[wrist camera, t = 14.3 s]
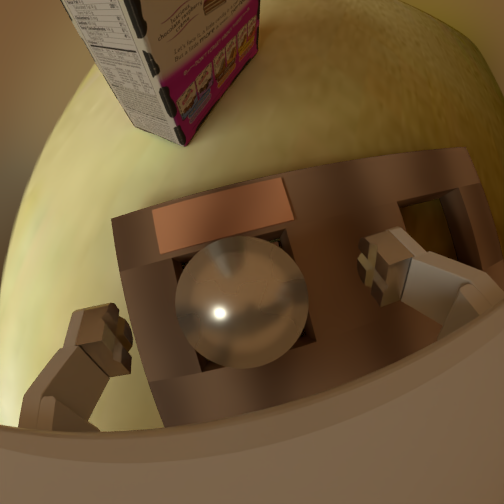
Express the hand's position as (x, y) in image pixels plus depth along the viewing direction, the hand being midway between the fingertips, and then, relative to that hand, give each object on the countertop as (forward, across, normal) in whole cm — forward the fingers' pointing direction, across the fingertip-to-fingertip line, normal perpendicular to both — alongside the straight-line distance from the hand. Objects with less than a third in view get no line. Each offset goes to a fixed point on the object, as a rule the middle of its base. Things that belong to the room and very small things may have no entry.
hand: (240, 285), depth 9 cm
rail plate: (+5, -6, +6) cm, 10 cm away
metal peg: (+5, 0, +6) cm, 8 cm away
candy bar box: (+17, 0, -5) cm, 17 cm away
